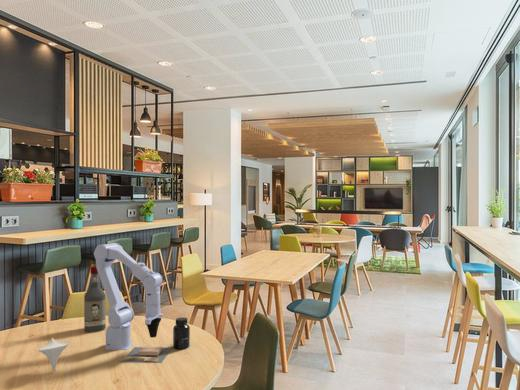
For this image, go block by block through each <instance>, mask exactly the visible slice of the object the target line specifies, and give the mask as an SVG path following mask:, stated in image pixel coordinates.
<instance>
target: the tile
mask: <svg viewBox="0 0 520 390" xmlns="http://www.w3.org/2000/svg"><path fill="white" fill-rule="evenodd" d="M142 347H143V348H141V349H140V350H139V351H138V355H158V354H159V353H160V352H162V350H163V347H164V346H142Z"/></svg>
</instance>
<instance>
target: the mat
mask: <svg viewBox="0 0 520 390" xmlns="http://www.w3.org/2000/svg"><path fill="white" fill-rule="evenodd" d="M143 347H144V346H140V347H139V346H134V347H133V348H132V349H131V350H130V351H129V353H127V354H126V356H128V357H160V358H159V360H158V361H157V362H144V361H121V360H120V362H119V363H122V364H123V363H129V364H132V363H133V364H140V363H141V364H162V363H163V362H164V360H165V359H166V358H167V356H168V355H169V353H170V352H171V350H172V349H174V348H173V346H172V347H165V346H162V347H163V350H162V352H160V353H159V354H158V355H138V351H139V350H140V349H141V348H143Z"/></svg>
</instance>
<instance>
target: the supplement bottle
mask: <svg viewBox="0 0 520 390" xmlns="http://www.w3.org/2000/svg"><path fill="white" fill-rule="evenodd" d="M190 330H191V326H190V325H189V324H188V318H187V317H177V318H176V319H175V325H174V326H173V329H172V347H173V348H172V349H175V350H178V351H182V350H186V349H189V348H190V346H191V345H190V343H191V341H190V338H191V333H190V332H191V331H190Z"/></svg>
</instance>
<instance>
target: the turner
mask: <svg viewBox="0 0 520 390" xmlns="http://www.w3.org/2000/svg"><path fill="white" fill-rule="evenodd" d="M159 358H160V357H128V356H127V355H125V356H122V357H121V360H120V362H121V361H144V362H157V361H158V360H159Z"/></svg>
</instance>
